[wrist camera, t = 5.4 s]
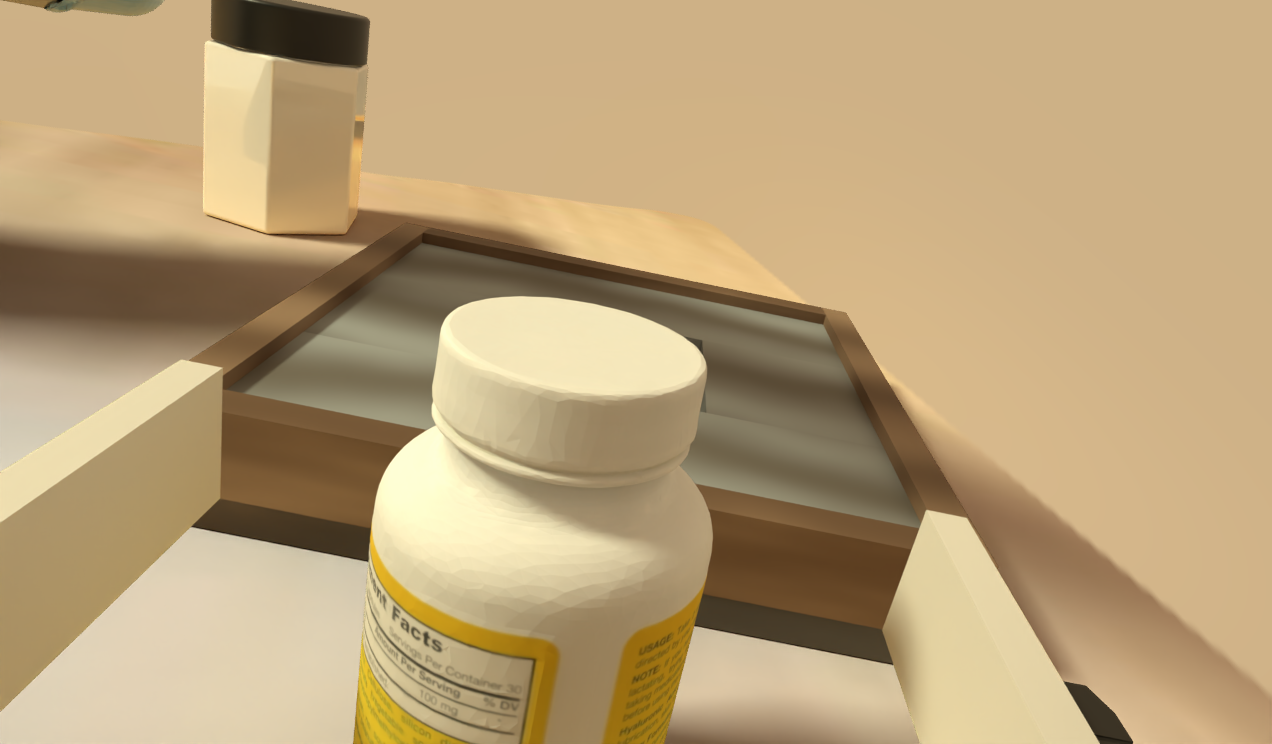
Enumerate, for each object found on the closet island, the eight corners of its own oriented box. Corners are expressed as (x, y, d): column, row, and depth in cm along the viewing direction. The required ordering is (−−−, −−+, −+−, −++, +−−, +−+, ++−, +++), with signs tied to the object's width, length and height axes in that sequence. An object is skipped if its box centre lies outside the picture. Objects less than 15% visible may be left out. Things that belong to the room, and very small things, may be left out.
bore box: (953, 675, 23) (998, 566, 22) (137, 514, 22) (134, 394, 21) (826, 377, 43) (846, 312, 42) (399, 290, 43) (405, 222, 42)
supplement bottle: (594, 703, 19) (686, 295, 16) (674, 936, 15) (829, 430, 11) (342, 723, 18) (383, 265, 14) (342, 996, 13) (403, 413, 9)
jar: (332, 201, 57) (344, 9, 53) (383, 236, 52) (401, 25, 47) (184, 196, 51) (184, -20, 47) (223, 235, 46) (228, -5, 42)
